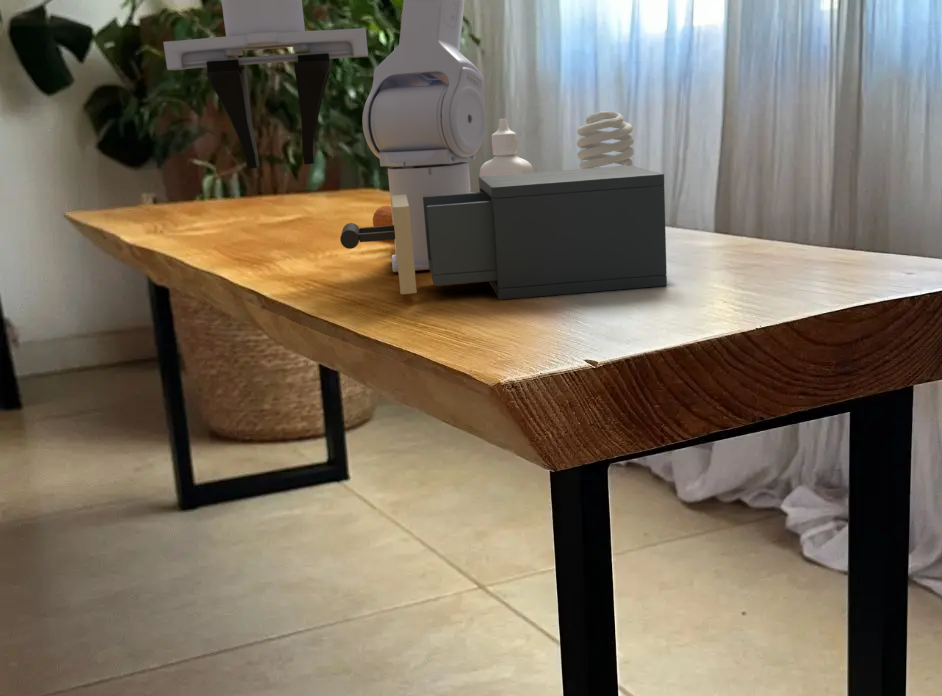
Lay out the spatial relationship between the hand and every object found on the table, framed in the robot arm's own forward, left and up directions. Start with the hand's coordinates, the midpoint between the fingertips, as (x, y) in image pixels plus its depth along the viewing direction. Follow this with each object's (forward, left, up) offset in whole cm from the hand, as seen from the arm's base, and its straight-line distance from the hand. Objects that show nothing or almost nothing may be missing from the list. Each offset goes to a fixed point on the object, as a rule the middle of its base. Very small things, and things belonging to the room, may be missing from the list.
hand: (281, 165), depth 92 cm
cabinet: (0, +22, -10) cm, 24 cm away
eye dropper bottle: (-28, +20, -11) cm, 36 cm away
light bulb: (-28, +30, -11) cm, 42 cm away
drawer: (0, +12, -9) cm, 15 cm away
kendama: (-35, +10, -11) cm, 38 cm away
